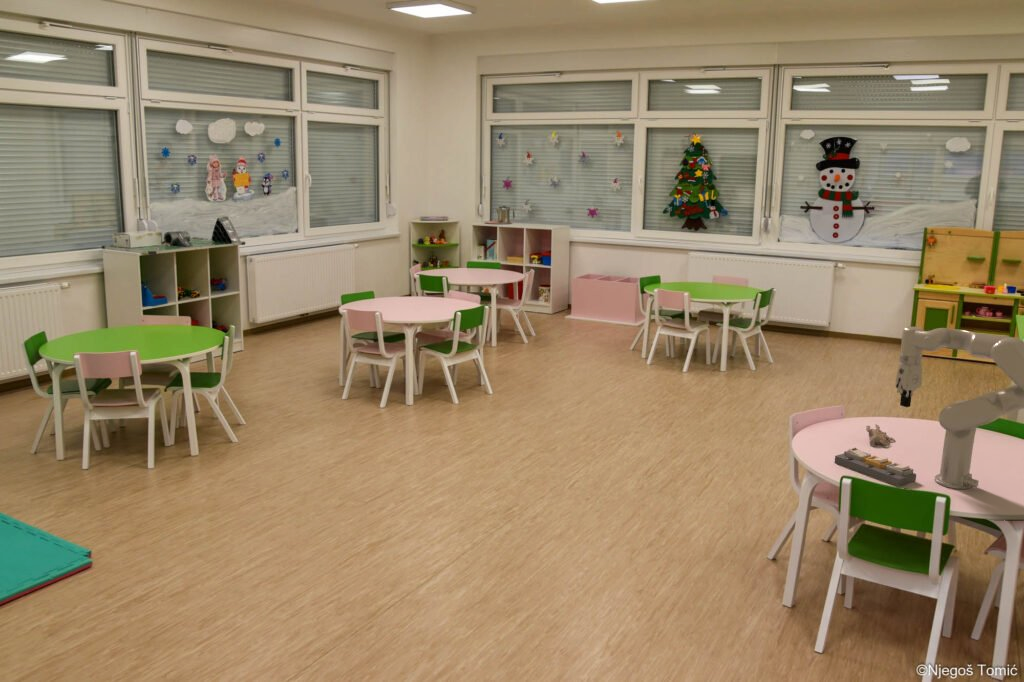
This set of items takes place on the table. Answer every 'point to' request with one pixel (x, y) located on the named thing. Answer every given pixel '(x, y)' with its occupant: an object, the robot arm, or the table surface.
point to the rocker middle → (879, 460)
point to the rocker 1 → (857, 452)
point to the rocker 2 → (900, 467)
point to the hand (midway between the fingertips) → (905, 406)
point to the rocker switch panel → (876, 468)
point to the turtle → (878, 436)
